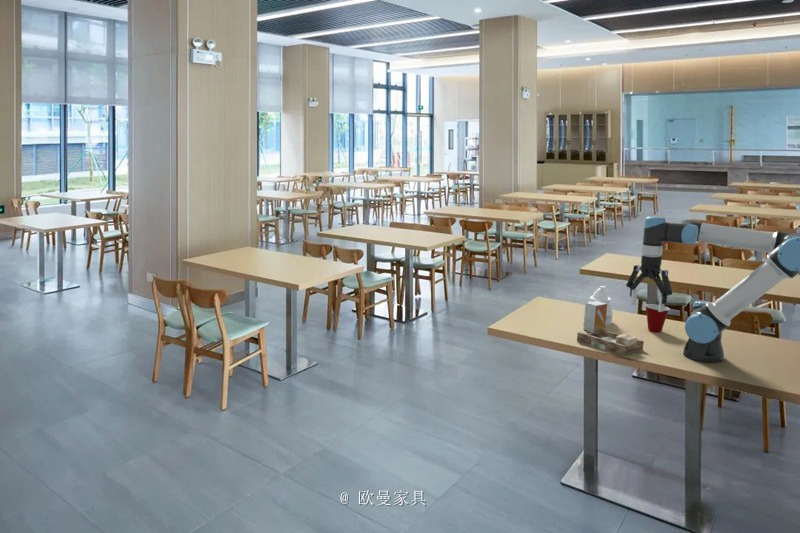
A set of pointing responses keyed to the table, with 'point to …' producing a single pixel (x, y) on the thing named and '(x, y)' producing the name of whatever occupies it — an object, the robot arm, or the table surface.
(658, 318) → the plastic cup
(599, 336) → the wooden tray
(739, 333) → the table surface
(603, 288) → the white piece
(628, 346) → the block
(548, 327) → the table surface
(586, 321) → the small box
